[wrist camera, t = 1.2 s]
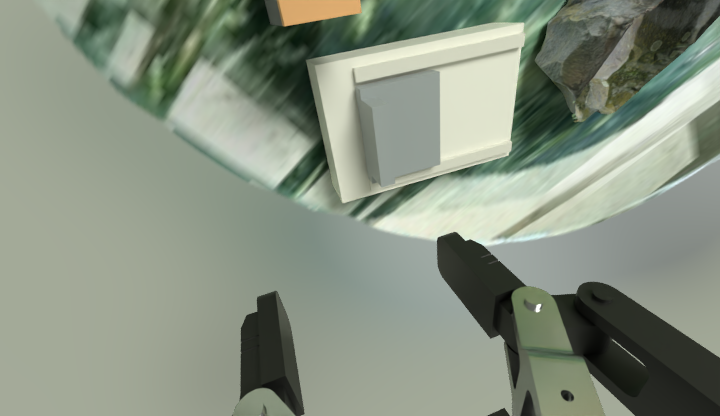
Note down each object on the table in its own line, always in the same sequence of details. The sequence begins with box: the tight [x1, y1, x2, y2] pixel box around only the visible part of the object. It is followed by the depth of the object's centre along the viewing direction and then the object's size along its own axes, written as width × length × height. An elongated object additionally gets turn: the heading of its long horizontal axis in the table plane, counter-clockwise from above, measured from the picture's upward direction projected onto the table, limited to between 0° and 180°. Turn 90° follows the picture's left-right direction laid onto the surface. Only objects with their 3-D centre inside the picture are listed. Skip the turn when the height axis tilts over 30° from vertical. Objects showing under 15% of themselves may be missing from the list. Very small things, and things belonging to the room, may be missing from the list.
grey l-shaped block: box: [355, 70, 440, 188], centre depth 26 cm, size 8×7×4 cm
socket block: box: [306, 23, 525, 203], centre depth 30 cm, size 12×18×4 cm, turn 98°
